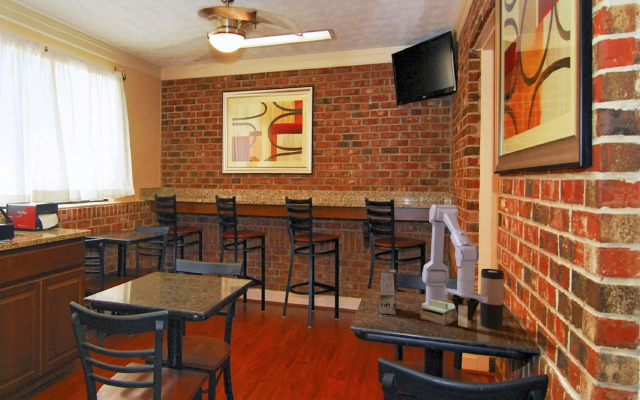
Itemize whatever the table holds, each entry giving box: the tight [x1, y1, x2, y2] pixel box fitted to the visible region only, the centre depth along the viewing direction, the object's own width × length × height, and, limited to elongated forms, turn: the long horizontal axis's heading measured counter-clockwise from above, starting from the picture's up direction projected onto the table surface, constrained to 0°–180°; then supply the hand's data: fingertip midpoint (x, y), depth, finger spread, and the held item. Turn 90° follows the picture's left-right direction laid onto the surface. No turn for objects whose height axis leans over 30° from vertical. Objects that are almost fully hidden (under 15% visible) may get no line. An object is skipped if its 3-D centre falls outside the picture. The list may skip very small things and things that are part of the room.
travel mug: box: [479, 268, 505, 330], centre depth 135 cm, size 8×8×20 cm
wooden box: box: [419, 299, 458, 327], centre depth 143 cm, size 14×10×6 cm
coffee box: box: [379, 268, 398, 315], centre depth 151 cm, size 9×6×16 cm
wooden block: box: [457, 303, 472, 328], centre depth 132 cm, size 3×3×7 cm
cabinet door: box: [421, 299, 456, 313], centre depth 142 cm, size 13×9×3 cm
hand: (465, 318), depth 132 cm, fingers closed on wooden block, 3 cm apart
